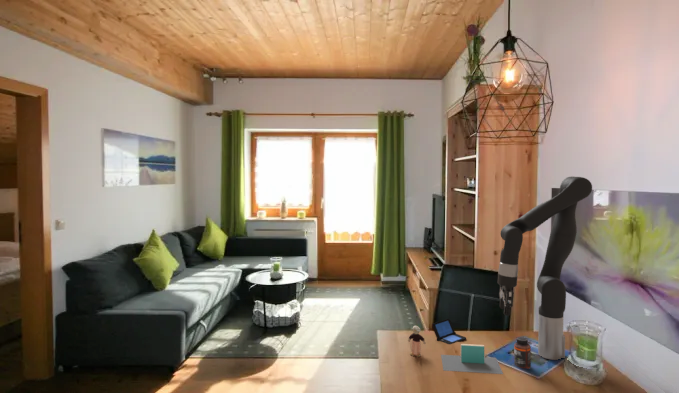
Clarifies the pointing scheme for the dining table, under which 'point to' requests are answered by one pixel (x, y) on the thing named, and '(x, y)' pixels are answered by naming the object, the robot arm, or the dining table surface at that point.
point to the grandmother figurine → (416, 341)
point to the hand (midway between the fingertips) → (504, 311)
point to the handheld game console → (446, 332)
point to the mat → (470, 365)
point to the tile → (472, 353)
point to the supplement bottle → (522, 353)
